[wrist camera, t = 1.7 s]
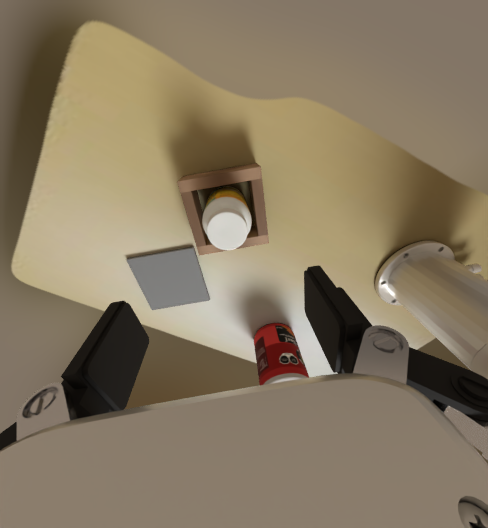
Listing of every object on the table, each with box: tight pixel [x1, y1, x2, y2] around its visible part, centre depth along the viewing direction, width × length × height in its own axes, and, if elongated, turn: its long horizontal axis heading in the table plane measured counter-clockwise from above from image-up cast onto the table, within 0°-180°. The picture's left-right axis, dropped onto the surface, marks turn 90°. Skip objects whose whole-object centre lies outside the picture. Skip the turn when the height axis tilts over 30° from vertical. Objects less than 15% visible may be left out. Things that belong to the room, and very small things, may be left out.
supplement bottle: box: [202, 186, 252, 250], centre depth 25 cm, size 5×5×10 cm
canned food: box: [254, 323, 309, 385], centre depth 38 cm, size 8×8×11 cm
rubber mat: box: [127, 247, 210, 310], centre depth 34 cm, size 10×10×1 cm
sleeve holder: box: [177, 163, 269, 255], centre depth 27 cm, size 9×9×4 cm
